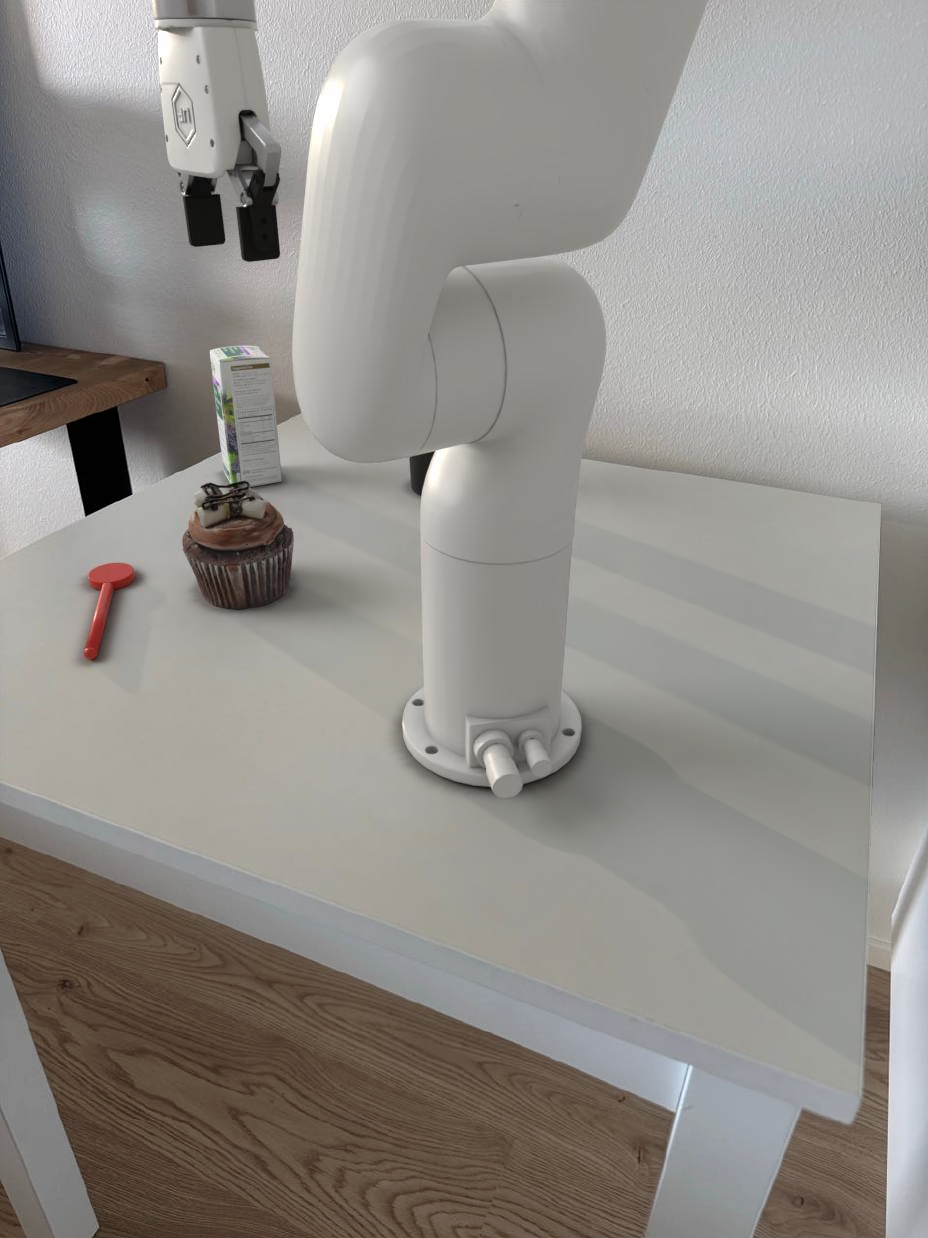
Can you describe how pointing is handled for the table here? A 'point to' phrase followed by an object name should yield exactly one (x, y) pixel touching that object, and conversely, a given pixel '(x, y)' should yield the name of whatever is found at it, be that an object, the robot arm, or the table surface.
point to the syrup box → (246, 414)
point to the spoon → (105, 598)
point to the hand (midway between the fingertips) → (233, 251)
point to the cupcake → (238, 547)
